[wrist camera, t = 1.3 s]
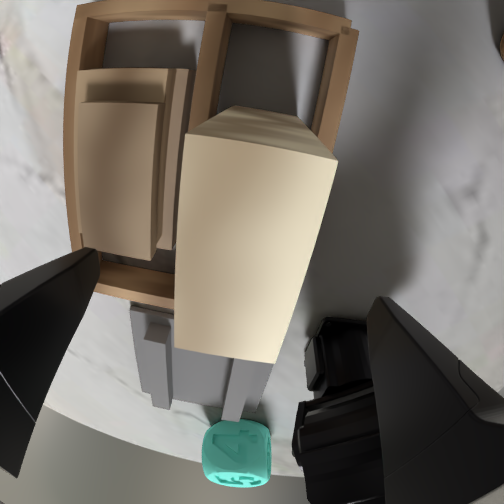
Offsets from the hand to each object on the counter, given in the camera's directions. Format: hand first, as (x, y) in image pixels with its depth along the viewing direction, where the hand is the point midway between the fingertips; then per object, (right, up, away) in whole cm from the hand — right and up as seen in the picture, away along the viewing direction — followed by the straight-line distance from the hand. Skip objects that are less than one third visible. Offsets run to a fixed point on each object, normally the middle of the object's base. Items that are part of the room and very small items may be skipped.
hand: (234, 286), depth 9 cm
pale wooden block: (+1, +6, +11) cm, 13 cm away
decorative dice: (-1, -24, +29) cm, 38 cm away
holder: (-5, -11, +21) cm, 24 cm away
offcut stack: (-7, +8, +10) cm, 15 cm away
